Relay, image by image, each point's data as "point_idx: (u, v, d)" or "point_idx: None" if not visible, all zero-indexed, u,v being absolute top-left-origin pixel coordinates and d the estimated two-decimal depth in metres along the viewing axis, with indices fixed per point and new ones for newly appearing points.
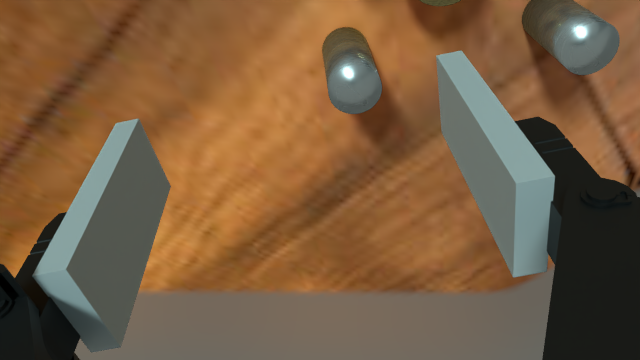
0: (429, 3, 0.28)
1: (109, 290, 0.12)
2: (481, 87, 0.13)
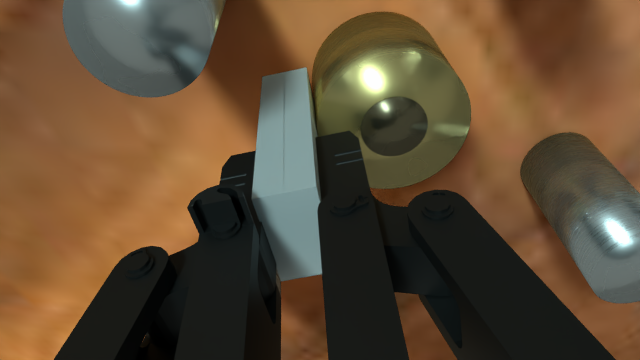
0: (369, 185, 0.16)
1: None
2: (303, 103, 0.14)
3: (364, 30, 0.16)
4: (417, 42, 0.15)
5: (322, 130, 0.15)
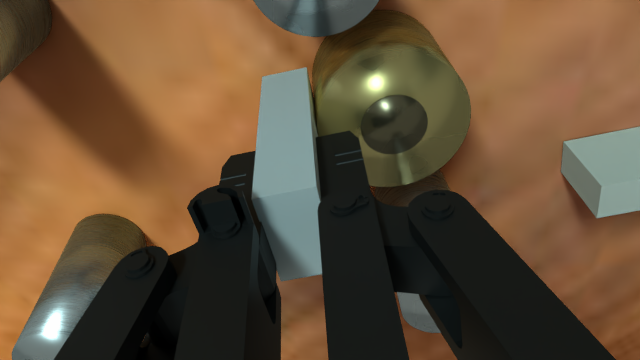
0: (370, 183, 0.16)
1: None
2: (303, 103, 0.14)
3: (364, 28, 0.16)
4: (417, 41, 0.15)
5: (322, 129, 0.15)
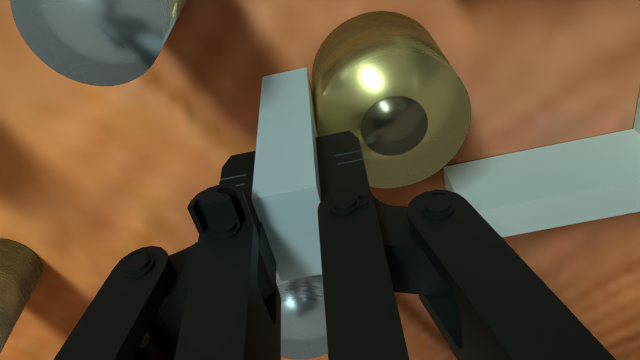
0: (369, 184, 0.16)
1: None
2: (303, 103, 0.14)
3: (364, 29, 0.16)
4: (417, 42, 0.15)
5: (322, 130, 0.15)
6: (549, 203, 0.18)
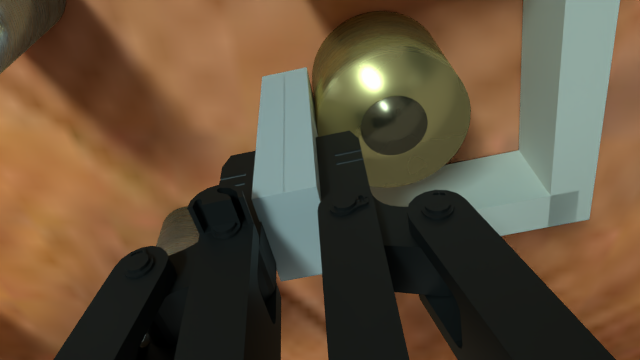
0: (369, 184, 0.16)
1: None
2: (303, 103, 0.14)
3: (364, 29, 0.16)
4: (417, 42, 0.15)
5: (322, 129, 0.15)
6: None
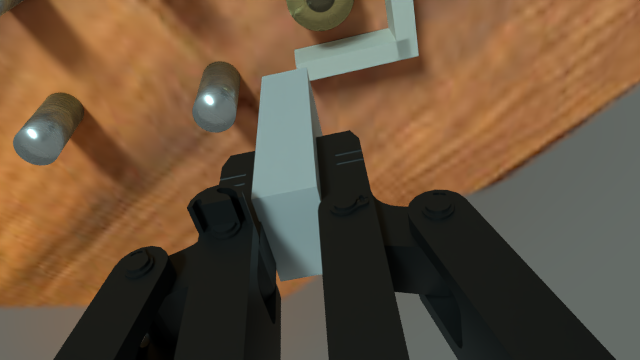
0: (311, 28, 0.36)
1: None
2: (303, 103, 0.14)
3: None
4: None
5: None
6: (336, 58, 0.37)
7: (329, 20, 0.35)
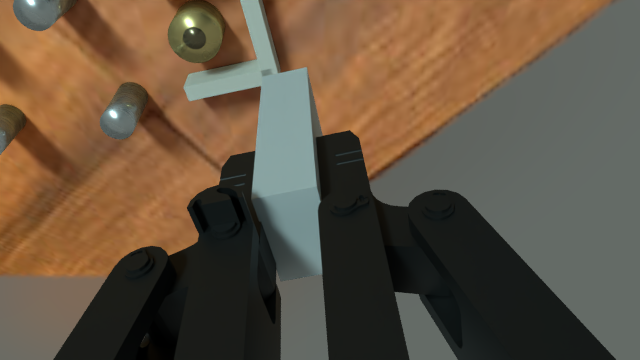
0: (191, 61, 0.46)
1: None
2: (303, 103, 0.14)
3: (186, 5, 0.45)
4: (200, 9, 0.45)
5: (170, 39, 0.45)
6: (215, 83, 0.48)
7: (204, 55, 0.46)
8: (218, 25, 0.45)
